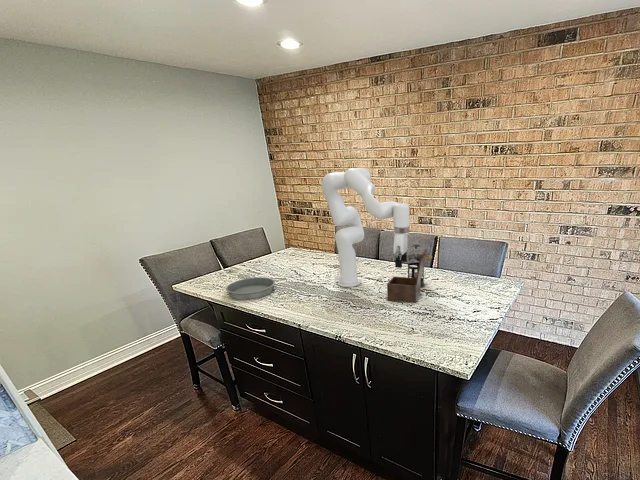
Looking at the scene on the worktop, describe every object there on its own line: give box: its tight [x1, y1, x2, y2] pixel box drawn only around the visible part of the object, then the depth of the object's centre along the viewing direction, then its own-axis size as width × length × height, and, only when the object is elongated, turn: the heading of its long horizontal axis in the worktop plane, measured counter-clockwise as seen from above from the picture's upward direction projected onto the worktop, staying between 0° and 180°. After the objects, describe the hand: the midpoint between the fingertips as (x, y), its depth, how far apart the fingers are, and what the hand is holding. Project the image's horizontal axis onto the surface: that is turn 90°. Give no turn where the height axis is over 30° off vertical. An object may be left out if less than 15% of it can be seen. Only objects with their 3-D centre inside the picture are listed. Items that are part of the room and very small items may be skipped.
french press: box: [407, 244, 425, 288], centre depth 185 cm, size 12×9×23 cm
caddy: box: [386, 276, 422, 304], centre depth 172 cm, size 15×12×9 cm
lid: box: [415, 248, 433, 285], centre depth 164 cm, size 15×12×5 cm
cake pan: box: [225, 276, 276, 301], centre depth 183 cm, size 25×25×4 cm
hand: (401, 264), depth 167 cm, fingers open, 9 cm apart
